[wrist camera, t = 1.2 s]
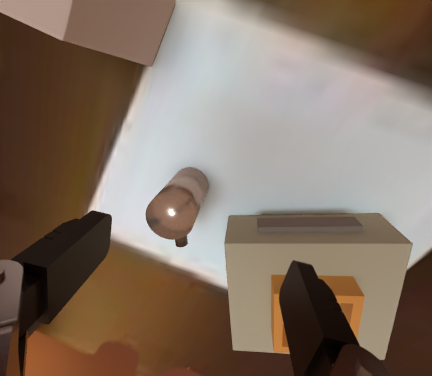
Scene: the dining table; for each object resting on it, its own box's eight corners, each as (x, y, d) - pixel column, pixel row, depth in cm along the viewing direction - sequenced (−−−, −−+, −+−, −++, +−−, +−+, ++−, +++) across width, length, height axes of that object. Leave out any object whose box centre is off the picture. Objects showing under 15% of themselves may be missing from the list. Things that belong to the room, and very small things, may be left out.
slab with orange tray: (379, 207, 31) (435, 254, 22) (361, 314, 38) (397, 385, 29) (228, 210, 34) (221, 253, 25) (235, 309, 41) (231, 372, 32)
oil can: (171, 168, 33) (141, 196, 24) (206, 166, 32) (190, 195, 23) (178, 214, 36) (153, 256, 26) (211, 214, 35) (198, 257, 26)
